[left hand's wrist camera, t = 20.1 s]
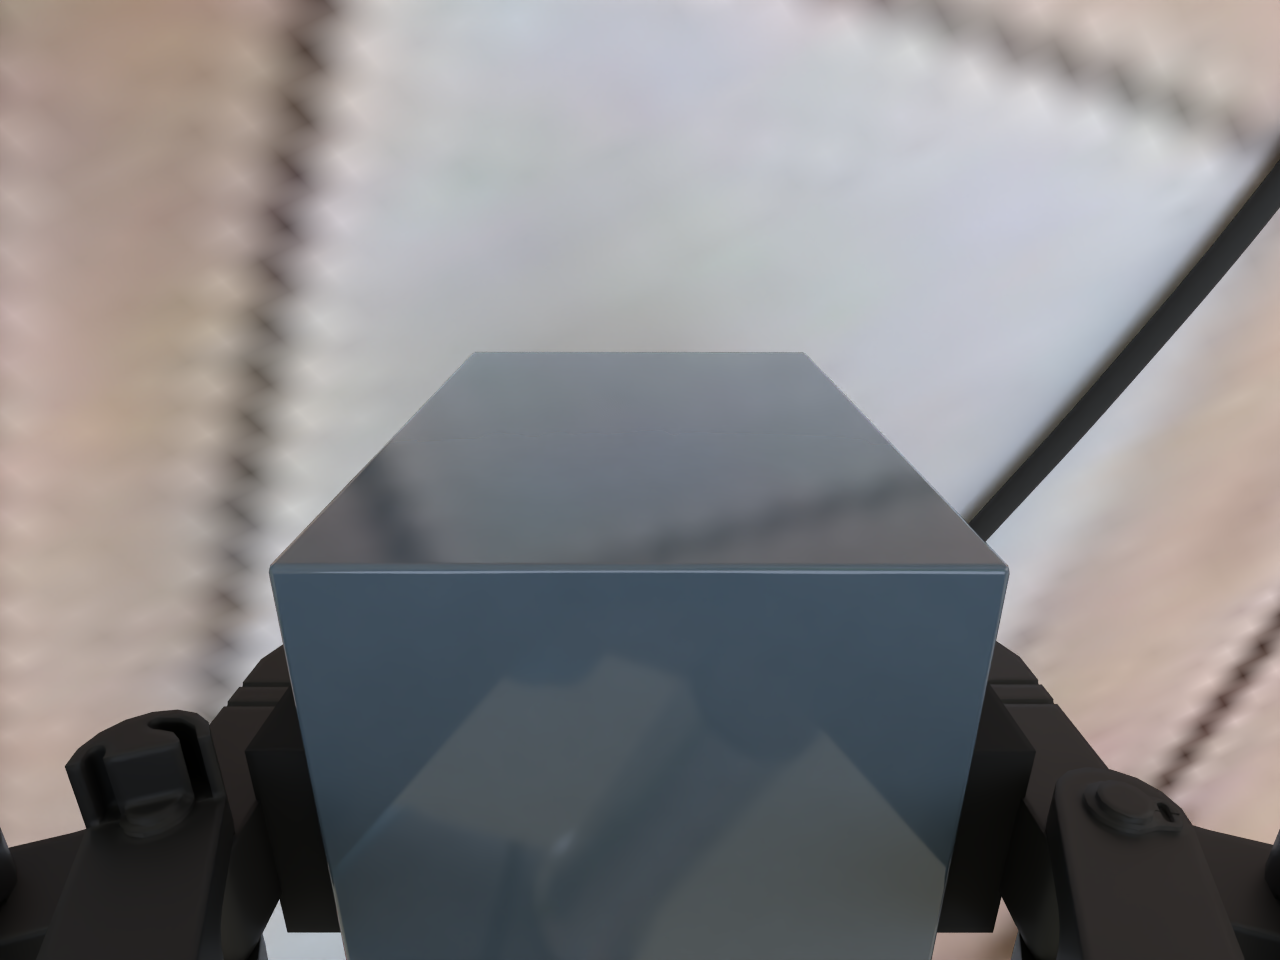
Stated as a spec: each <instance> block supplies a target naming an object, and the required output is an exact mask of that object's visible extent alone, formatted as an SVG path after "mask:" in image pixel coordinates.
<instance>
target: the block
mask: <svg viewBox="0 0 1280 960" xmlns="http://www.w3.org/2000/svg"><path fill="white" fill-rule="evenodd" d="M269 576H270V581H271V586H272V591H273V596H274V601H275V606H276V611H277V616H278V621H279V626H280V631H281V636H282V641H283V646H284V651H285V656H286V661H287V666H288V671H289V676H290V681H291V686H292V691H293V696H294V701H295V706H296V711H297V716H298V721H299V726H300V731H301V736H302V741H303V746H304V751H305V756H306V761H307V766H308V771H309V776H310V781H311V786H312V791H313V796H314V801H315V806H316V811H317V816H318V821H319V826H320V831H321V836H322V841H323V846H324V851H325V856H326V861H327V866H328V871H329V876H330V881H331V886H332V891H333V896H334V901H335V905H336V910H337V915H338V920H339V925H340V930H341V935H342V940H343V945H344V950H345V955H346V960H931V959H932V954H933V949H934V944H935V939H936V935H937V930H938V925H939V920H940V915H941V910H942V905H943V900H944V895H945V890H946V885H947V880H948V875H949V870H950V865H951V860H952V855H953V851H954V846H955V841H956V836H957V831H958V826H959V821H960V816H961V811H962V806H963V801H964V796H965V791H966V786H967V781H968V776H969V771H970V766H971V762H972V757H973V752H974V747H975V742H976V737H977V732H978V727H979V722H980V717H981V712H982V707H983V702H984V697H985V692H986V687H987V682H988V678H989V673H990V668H991V663H992V658H993V653H994V648H995V643H996V638H997V633H998V628H999V623H1000V618H1001V613H1002V608H1003V603H1004V598H1005V593H1006V589H1007V584H1008V579H1009V568H1008V565H1007V564H1006V563H1005V562H1004V561H1003V560H1002V559H1001V558H1000V557H999V555H998V554H997V553H996V552H995V551H994V550H993V549H992V548H991V547H990V546H989V545H988V544H987V543H986V542H985V541H984V540H983V539H982V538H981V537H980V536H979V535H978V534H977V532H976V531H975V530H974V529H973V528H972V527H971V526H970V525H969V524H968V523H967V522H966V521H965V520H964V519H963V518H962V517H961V516H960V515H959V514H958V513H957V512H956V510H955V509H954V508H953V507H952V506H951V505H950V504H949V503H948V502H947V501H946V500H945V499H944V498H943V497H942V496H941V495H940V494H939V493H938V492H937V491H936V490H935V489H934V487H933V486H932V485H931V484H930V483H929V482H928V481H927V480H926V479H925V478H924V477H923V476H922V475H921V474H920V473H919V472H918V471H917V470H916V469H915V468H914V467H913V465H912V464H911V463H910V462H909V461H908V460H907V459H906V458H905V457H904V456H903V455H902V454H901V453H900V452H899V451H898V450H897V449H896V448H895V447H894V446H893V445H892V444H891V442H890V441H889V440H888V439H887V438H886V437H885V436H884V435H883V434H882V433H881V432H880V431H879V430H878V429H877V428H876V427H875V426H874V425H873V424H872V423H871V422H870V421H869V419H868V418H867V417H866V416H865V415H864V414H863V413H862V412H861V411H860V410H859V409H858V408H857V407H856V406H855V405H854V404H853V403H852V402H851V401H850V400H849V399H848V397H847V396H846V395H845V394H844V393H843V392H842V391H841V390H840V389H839V388H838V387H837V386H836V385H835V384H834V383H833V382H832V381H831V380H830V379H829V378H828V377H827V376H826V374H825V373H824V372H823V371H822V370H821V369H820V368H819V367H818V366H817V365H816V364H815V363H814V362H813V361H812V360H811V359H810V358H809V357H808V356H807V355H806V354H805V353H803V352H475V353H473V354H472V355H471V356H470V357H469V358H468V359H467V360H466V361H465V362H464V363H463V364H462V365H461V366H460V367H459V368H458V369H457V370H456V372H455V373H454V374H453V375H452V376H451V377H450V378H449V379H448V380H447V381H446V382H445V383H444V384H443V385H442V386H441V387H440V388H439V389H438V390H437V391H436V392H435V393H434V395H433V396H432V397H431V398H430V399H429V400H428V401H427V402H426V403H425V404H424V405H423V406H422V407H421V408H420V409H419V410H418V411H417V412H416V413H415V414H414V415H413V416H412V418H411V419H410V420H409V421H408V422H407V423H406V424H405V425H404V426H403V427H402V428H401V429H400V430H399V431H398V432H397V433H396V434H395V435H394V436H393V437H392V438H391V439H390V441H389V442H388V443H387V444H386V445H385V446H384V447H383V448H382V449H381V450H380V451H379V452H378V453H377V454H376V455H375V456H374V457H373V458H372V459H371V460H370V461H369V462H368V464H367V465H366V466H365V467H364V468H363V469H362V470H361V471H360V472H359V473H358V474H357V475H356V476H355V477H354V478H353V479H352V480H351V481H350V482H349V483H348V484H347V485H346V487H345V488H344V489H343V490H342V491H341V492H340V493H339V494H338V495H337V496H336V497H335V498H334V499H333V500H332V501H331V502H330V503H329V504H328V505H327V506H326V507H325V508H324V510H323V511H322V512H321V513H320V514H319V515H318V516H317V517H316V518H315V519H314V520H313V521H312V522H311V523H310V524H309V525H308V526H307V527H306V528H305V529H304V530H303V531H302V533H301V534H300V535H299V536H298V537H297V538H296V539H295V540H294V541H293V542H292V543H291V544H290V545H289V546H288V547H287V548H286V549H285V550H284V551H283V552H282V553H281V554H280V556H279V557H278V558H277V559H276V560H275V561H274V562H273V563H272V564H271V565H270V569H269Z"/></svg>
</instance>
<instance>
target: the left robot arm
mask: <svg viewBox="0 0 1280 960" xmlns="http://www.w3.org/2000/svg"><path fill="white" fill-rule="evenodd" d="M1279 208H1280V160H1279V161H1278V163H1277V164H1276V165H1275V166H1274V168H1273V169H1272V170H1271V172H1270V173H1269V174H1268V176H1267V177H1266V178H1265V179H1264V181H1263V182H1262V183H1261V185H1260V186H1259V187H1258V188H1257V190H1256V191H1255V192H1254V194H1253V195H1252V196H1251V197H1250V199H1249V200H1248V201H1247V202H1246V204H1245V205H1244V206H1243V208H1242V209H1241V210H1240V211H1239V213H1238V214H1237V215H1236V216H1235V218H1234V219H1233V220H1232V221H1231V223H1230V224H1229V225H1228V226H1227V228H1226V229H1225V230H1224V231H1223V233H1222V234H1221V235H1220V236H1219V238H1218V239H1217V240H1216V241H1215V243H1214V244H1213V245H1212V246H1211V248H1210V249H1209V250H1208V251H1207V252H1206V254H1205V255H1204V256H1203V257H1202V259H1201V260H1200V261H1199V262H1198V263H1197V265H1196V266H1195V267H1194V268H1193V269H1192V271H1191V272H1190V273H1189V274H1188V275H1187V277H1186V278H1185V279H1184V280H1183V281H1182V283H1181V284H1180V285H1179V286H1178V287H1177V289H1176V290H1175V291H1174V292H1173V293H1172V295H1171V296H1170V297H1169V298H1168V299H1167V300H1166V302H1165V303H1164V304H1163V305H1162V306H1161V307H1160V309H1159V310H1158V311H1157V312H1156V313H1155V315H1154V316H1153V317H1152V318H1151V319H1150V320H1149V322H1148V323H1147V324H1146V325H1145V326H1144V327H1143V329H1142V330H1141V331H1140V332H1139V333H1138V334H1137V335H1136V337H1135V338H1134V339H1133V340H1132V341H1131V342H1130V344H1129V345H1128V346H1127V347H1126V348H1125V349H1124V351H1123V352H1122V353H1121V354H1120V355H1119V356H1118V358H1117V359H1116V360H1115V361H1114V362H1113V363H1112V364H1111V366H1110V367H1109V368H1108V369H1107V370H1106V371H1105V373H1104V374H1103V375H1102V376H1101V377H1100V378H1099V380H1098V381H1097V382H1096V383H1095V384H1094V385H1093V386H1092V388H1091V389H1090V390H1089V391H1088V392H1087V393H1086V394H1085V396H1084V397H1083V398H1082V399H1081V400H1080V401H1079V402H1078V404H1077V405H1076V406H1075V407H1074V408H1073V409H1072V410H1071V412H1070V413H1069V414H1068V415H1067V416H1066V417H1065V418H1064V419H1063V421H1062V422H1061V423H1060V424H1059V425H1058V426H1057V427H1056V428H1055V430H1054V431H1053V432H1052V433H1051V434H1050V435H1049V436H1048V437H1047V438H1046V440H1045V441H1044V442H1043V443H1042V444H1041V445H1040V446H1039V447H1038V448H1037V450H1036V451H1035V452H1034V453H1033V454H1032V455H1031V456H1030V457H1029V458H1028V459H1027V461H1026V462H1025V463H1024V464H1023V465H1022V466H1021V467H1020V468H1019V469H1018V470H1017V471H1016V473H1015V474H1014V475H1013V476H1012V477H1011V478H1010V479H1009V480H1008V481H1007V482H1006V483H1005V485H1004V486H1003V487H1002V488H1001V489H1000V490H999V491H998V492H997V493H996V494H995V496H994V497H993V498H992V499H991V500H990V501H989V502H988V503H987V504H986V505H985V506H984V508H983V509H982V510H981V511H980V512H979V513H978V514H977V515H976V516H975V517H974V519H973V520H972V521H971V522H970V523H969V525H970V526H971V527H972V528H973V529H974V530H975V531H976V532H977V534H978V535H979V536H980V537H981V538H982V539H983V540H984V541H985V542H986V541H987V539H988V538H989V537H990V536H991V535H992V534H993V533H994V532H995V531H996V530H997V529H998V528H999V526H1000V525H1001V524H1002V523H1003V522H1004V521H1005V520H1006V519H1007V518H1008V517H1009V516H1010V515H1011V514H1012V513H1013V511H1014V510H1015V509H1016V508H1017V507H1018V506H1019V505H1020V504H1021V503H1022V502H1023V501H1024V500H1025V499H1026V498H1027V496H1028V495H1029V494H1030V493H1031V492H1032V491H1033V490H1034V489H1035V488H1036V487H1037V486H1038V485H1039V484H1040V483H1041V481H1042V480H1043V479H1044V478H1045V477H1046V476H1047V475H1048V474H1049V473H1050V472H1051V471H1052V470H1053V469H1054V467H1055V466H1056V465H1057V464H1058V463H1059V462H1060V461H1061V460H1062V459H1063V458H1064V457H1065V456H1066V454H1067V453H1068V452H1069V451H1070V450H1071V449H1072V448H1073V447H1074V446H1075V445H1076V444H1077V442H1078V441H1079V440H1080V439H1081V438H1082V437H1083V436H1084V435H1085V434H1086V433H1087V431H1088V430H1089V429H1090V428H1091V427H1092V426H1093V425H1094V424H1095V423H1096V421H1097V420H1098V419H1099V418H1100V417H1101V416H1102V415H1103V414H1104V413H1105V411H1106V410H1107V409H1108V408H1109V407H1110V406H1111V405H1112V404H1113V402H1114V401H1115V400H1116V399H1117V398H1118V397H1119V396H1120V394H1121V393H1122V392H1123V391H1124V390H1125V389H1126V388H1127V387H1128V385H1129V384H1130V383H1131V382H1132V381H1133V380H1134V379H1135V377H1136V376H1137V375H1138V374H1139V373H1140V372H1141V371H1142V370H1143V368H1144V367H1145V366H1146V365H1147V364H1148V363H1149V362H1150V360H1151V359H1152V358H1153V357H1154V356H1155V355H1156V354H1157V352H1158V351H1159V350H1160V349H1161V348H1162V347H1163V346H1164V344H1165V343H1166V342H1167V341H1168V340H1169V339H1170V338H1171V337H1172V335H1173V334H1174V333H1175V332H1176V331H1177V330H1178V328H1179V327H1180V326H1181V325H1182V324H1183V323H1184V322H1185V320H1186V319H1187V318H1188V317H1189V316H1190V315H1191V314H1192V312H1193V311H1194V310H1195V309H1196V308H1197V307H1198V305H1199V304H1200V303H1201V302H1202V301H1203V300H1204V298H1205V297H1206V296H1207V295H1208V294H1209V293H1210V291H1211V290H1212V289H1213V288H1214V287H1215V286H1216V284H1217V283H1218V282H1219V281H1220V280H1221V278H1222V277H1223V276H1224V275H1225V274H1226V273H1227V271H1228V270H1229V269H1230V268H1231V267H1232V265H1233V264H1234V263H1235V262H1236V261H1237V259H1238V258H1239V257H1240V256H1241V254H1242V253H1243V252H1244V251H1245V250H1246V248H1247V247H1248V246H1249V245H1250V244H1251V242H1252V241H1253V240H1254V239H1255V237H1256V236H1257V235H1258V234H1259V233H1260V231H1261V230H1262V229H1263V228H1264V226H1265V225H1266V224H1267V223H1268V221H1269V220H1270V219H1271V218H1272V216H1273V215H1274V214H1275V213H1276V211H1277V210H1278V209H1279ZM65 768H66V771H67V774H68V777H69V780H70V783H71V786H72V788H73V791H74V794H75V797H76V800H77V803H78V806H79V808H80V811H81V814H82V817H83V820H84V823H85V826H86V829H84V830H81V831H78V832H74V833H70V834H66V835H62V836H57V837H53V838H49V839H44V840H40V841H36V842H31V843H27V844H23V845H19V846H14V847H10V848H8V846H7V843H6V841H5V838H4V836H3V833H2V831H1V828H0V960H268V957H267V952H266V946H265V941H264V938H263V934H262V933H263V931H264V929H265V927H266V925H267V923H268V921H269V919H270V917H271V915H272V913H273V911H274V909H275V907H276V905H277V903H278V901H279V899H280V903H281V907H282V911H283V915H284V919H285V924H286V928H287V932H341V930H340V925H339V920H338V915H337V910H336V905H335V901H334V896H333V891H332V886H331V881H330V876H329V871H328V866H327V861H326V856H325V851H324V846H323V841H322V836H321V831H320V826H319V821H318V816H317V811H316V806H315V801H314V796H313V791H312V786H311V781H310V776H309V771H308V766H307V761H306V756H305V751H304V746H303V741H302V736H301V731H300V726H299V721H298V716H297V711H296V706H295V701H294V696H293V691H292V686H291V681H290V676H289V671H288V666H287V661H286V656H285V651H284V646H283V645H281V646H280V647H279V648H277V649H276V650H274V651H273V652H271V653H270V654H268V655H267V656H265V657H264V658H262V659H261V660H260V661H259V663H258V664H257V665H256V666H255V668H254V669H253V670H252V672H251V673H250V674H249V675H248V677H247V678H246V679H245V680H244V682H243V687H239V688H238V689H237V691H236V692H235V693H234V694H233V696H232V697H231V698H230V699H229V701H228V706H227V707H223V708H222V710H221V711H220V712H219V713H218V715H217V716H216V717H215V718H214V720H213V721H212V722H211V724H210V725H209V722H208V721H206V720H205V719H204V718H203V717H201V716H200V715H199V714H197V713H193V712H188V711H182V710H169V711H158V712H151V713H148V714H144V715H141V716H137V717H134V718H131V719H127V720H125V721H122V722H120V723H118V724H116V725H114V726H112V727H110V728H108V729H106V730H104V731H102V732H100V733H98V734H97V735H96V736H94V737H93V738H92V739H90V740H89V741H88V742H86V743H85V744H84V745H82V746H81V747H80V748H79V749H78V750H77V751H76V752H75V753H74V755H73V756H72V757H71V759H70V760H69V761H68V763H67V764H66V765H65ZM1001 896H1002V898H1003V900H1004V902H1005V904H1006V906H1007V908H1008V910H1009V912H1010V914H1011V916H1012V918H1013V920H1014V922H1015V924H1016V926H1017V928H1018V934H1017V937H1016V941H1015V945H1014V949H1013V953H1012V957H1011V960H1280V830H1279V832H1278V835H1277V837H1276V840H1275V842H1274V845H1271V844H1267V843H1263V842H1258V841H1254V840H1250V839H1245V838H1241V837H1237V836H1232V835H1228V834H1224V833H1219V832H1215V831H1211V830H1207V829H1203V828H1200V827H1197V826H1193V825H1192V824H1191V822H1190V821H1189V819H1188V818H1187V816H1186V815H1185V813H1184V812H1183V810H1182V809H1181V808H1180V807H1179V806H1178V805H1177V804H1175V803H1174V802H1173V801H1172V800H1171V799H1170V798H1168V797H1167V796H1166V795H1165V794H1164V793H1163V792H1161V791H1159V790H1158V789H1156V788H1154V787H1152V786H1150V785H1149V784H1147V783H1145V782H1143V781H1141V780H1139V779H1138V778H1135V777H1132V776H1129V775H1126V774H1123V773H1120V772H1117V771H1114V770H1111V769H1108V767H1107V766H1106V765H1105V764H1104V762H1103V761H1102V760H1101V759H1100V757H1099V756H1098V755H1097V754H1096V752H1095V751H1094V750H1093V749H1092V747H1091V746H1090V745H1089V744H1088V742H1087V741H1086V740H1085V738H1084V737H1083V736H1082V735H1081V733H1080V732H1079V731H1078V730H1077V728H1076V727H1075V726H1074V725H1073V723H1072V722H1071V721H1070V720H1069V718H1068V717H1067V716H1066V715H1065V713H1064V712H1063V711H1062V710H1061V708H1060V707H1059V706H1058V704H1054V703H1053V698H1052V697H1051V696H1050V694H1049V693H1048V692H1047V691H1046V689H1045V688H1044V687H1043V686H1042V685H1039V684H1038V679H1037V678H1036V677H1035V675H1034V674H1033V673H1032V672H1031V670H1030V669H1029V668H1028V667H1027V665H1026V664H1025V663H1024V662H1023V660H1022V659H1021V658H1020V657H1019V656H1018V655H1016V654H1015V653H1013V652H1012V651H1010V650H1009V649H1007V648H1006V647H1004V646H1003V645H1001V644H1000V643H998V642H997V641H996V643H995V648H994V653H993V658H992V663H991V668H990V673H989V678H988V682H987V687H986V692H985V697H984V702H983V707H982V712H981V717H980V722H979V727H978V732H977V737H976V742H975V747H974V752H973V757H972V762H971V766H970V771H969V776H968V781H967V786H966V791H965V796H964V801H963V806H962V811H961V816H960V821H959V826H958V831H957V836H956V841H955V846H954V851H953V855H952V860H951V865H950V870H949V875H948V880H947V885H946V890H945V895H944V900H943V905H942V910H941V915H940V920H939V925H938V930H937V933H993V930H994V926H995V922H996V917H997V913H998V909H999V905H1000V901H1001Z"/></svg>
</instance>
